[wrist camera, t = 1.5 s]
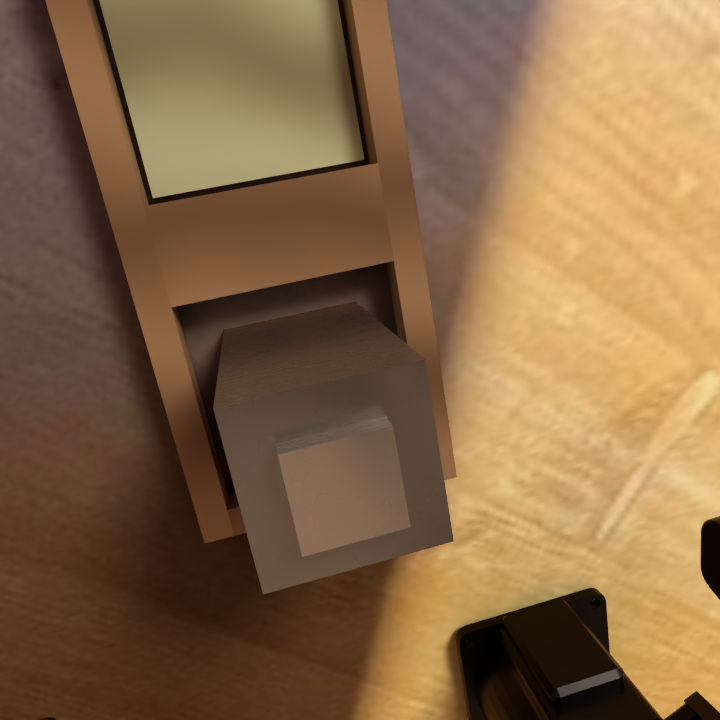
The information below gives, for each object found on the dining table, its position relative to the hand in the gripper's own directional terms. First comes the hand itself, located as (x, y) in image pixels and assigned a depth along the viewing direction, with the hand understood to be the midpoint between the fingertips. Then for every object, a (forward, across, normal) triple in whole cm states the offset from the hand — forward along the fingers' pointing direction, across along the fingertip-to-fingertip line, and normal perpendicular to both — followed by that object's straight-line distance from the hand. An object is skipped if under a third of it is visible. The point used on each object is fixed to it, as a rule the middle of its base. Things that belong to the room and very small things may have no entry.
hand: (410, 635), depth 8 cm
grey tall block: (+13, 0, +1) cm, 13 cm away
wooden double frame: (+13, 0, -4) cm, 14 cm away
